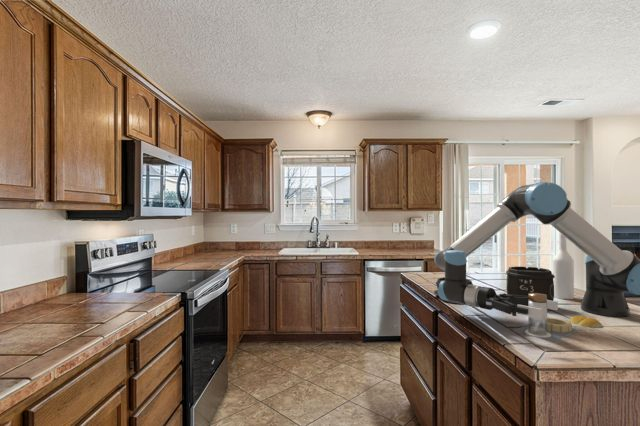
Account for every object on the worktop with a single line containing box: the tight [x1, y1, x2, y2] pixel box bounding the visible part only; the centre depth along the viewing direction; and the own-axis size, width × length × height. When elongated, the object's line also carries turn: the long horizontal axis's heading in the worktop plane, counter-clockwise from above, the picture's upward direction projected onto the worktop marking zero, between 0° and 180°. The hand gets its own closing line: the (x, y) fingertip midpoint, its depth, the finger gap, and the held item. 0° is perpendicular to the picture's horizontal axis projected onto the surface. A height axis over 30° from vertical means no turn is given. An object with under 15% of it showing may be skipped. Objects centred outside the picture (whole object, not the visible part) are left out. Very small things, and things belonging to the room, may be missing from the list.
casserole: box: [433, 276, 474, 296], centre depth 164 cm, size 25×19×8 cm
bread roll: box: [569, 315, 604, 328], centre depth 119 cm, size 8×9×4 cm
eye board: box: [512, 316, 582, 343], centre depth 112 cm, size 20×12×4 cm, turn 124°
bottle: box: [552, 232, 575, 300], centre depth 163 cm, size 8×8×30 cm
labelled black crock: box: [505, 266, 555, 311], centre depth 149 cm, size 18×18×16 cm
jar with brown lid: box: [527, 293, 548, 336], centre depth 109 cm, size 5×5×12 cm
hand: (549, 309), depth 107 cm, fingers open, 13 cm apart
